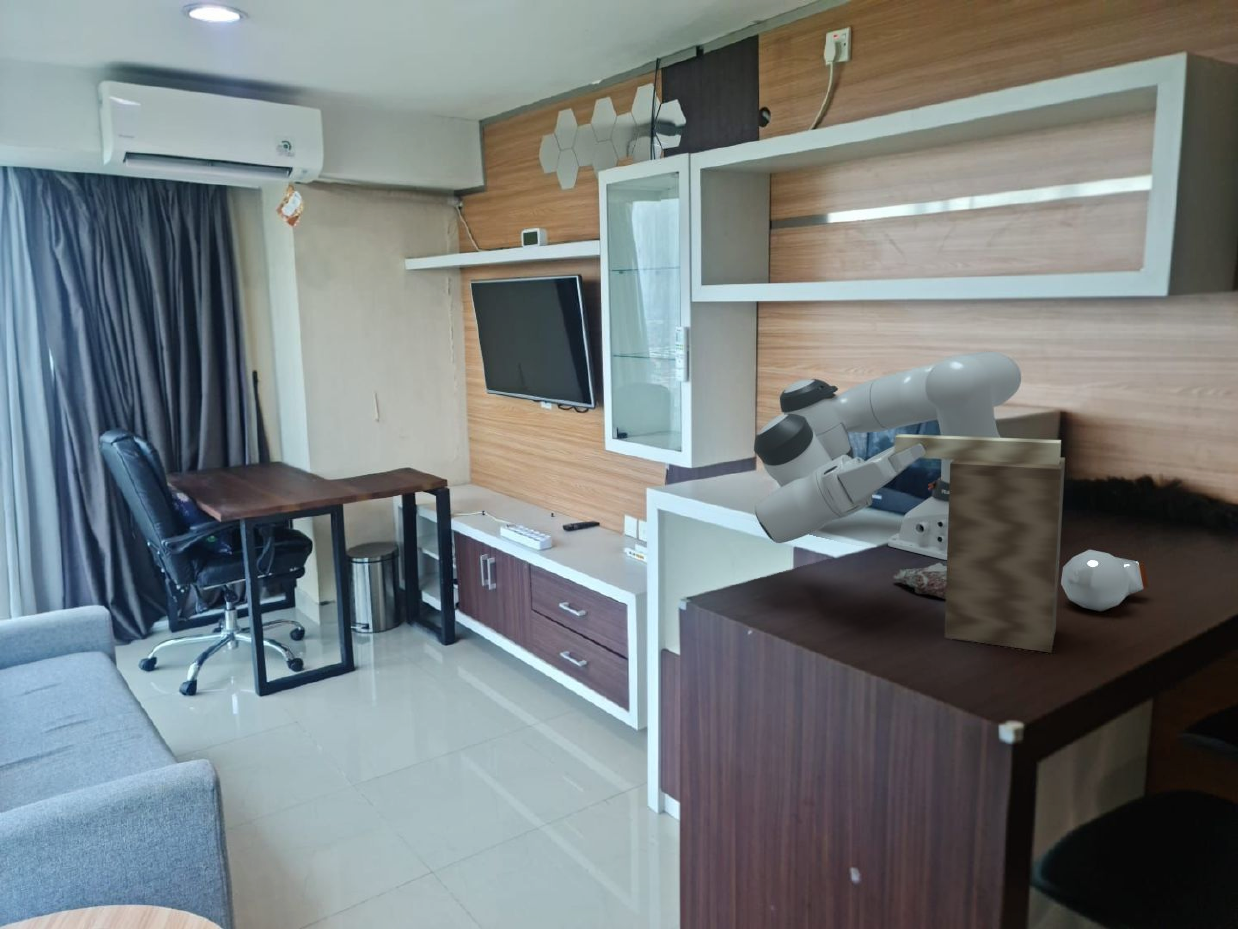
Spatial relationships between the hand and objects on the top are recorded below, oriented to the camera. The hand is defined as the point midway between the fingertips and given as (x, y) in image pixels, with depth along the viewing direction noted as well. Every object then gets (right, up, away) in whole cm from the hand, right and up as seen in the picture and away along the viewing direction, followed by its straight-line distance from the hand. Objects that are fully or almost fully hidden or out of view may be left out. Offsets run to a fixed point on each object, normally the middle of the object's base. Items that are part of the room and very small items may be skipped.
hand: (929, 443), depth 127 cm
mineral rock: (+8, -25, +19) cm, 33 cm away
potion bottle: (+32, -26, +11) cm, 42 cm away
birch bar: (+5, -2, -3) cm, 7 cm away
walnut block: (+10, -28, -1) cm, 30 cm away
